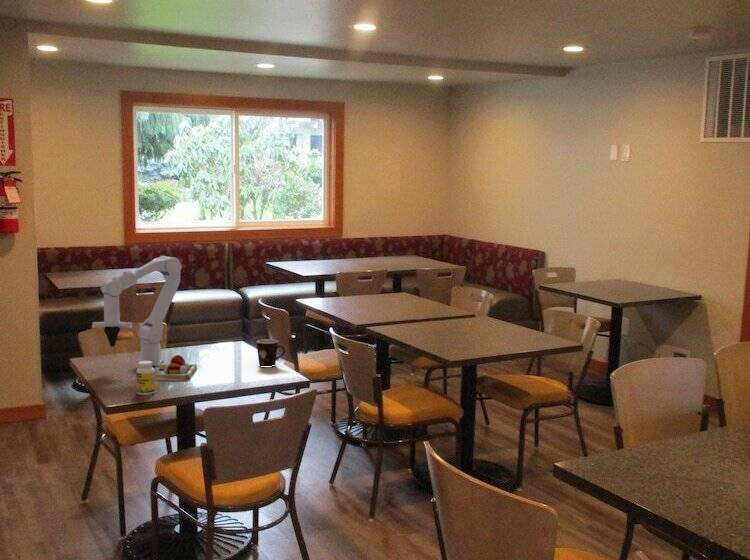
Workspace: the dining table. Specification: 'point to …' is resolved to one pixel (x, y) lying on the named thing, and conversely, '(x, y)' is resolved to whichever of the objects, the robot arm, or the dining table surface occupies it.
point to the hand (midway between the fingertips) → (112, 346)
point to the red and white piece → (177, 366)
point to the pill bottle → (145, 378)
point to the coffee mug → (268, 351)
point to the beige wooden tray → (176, 376)
